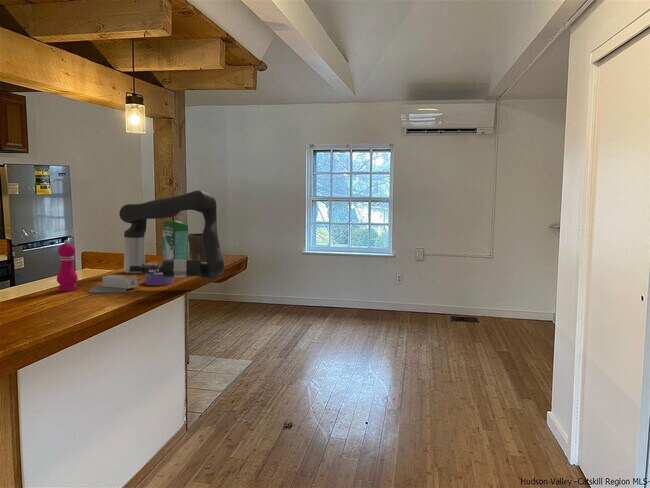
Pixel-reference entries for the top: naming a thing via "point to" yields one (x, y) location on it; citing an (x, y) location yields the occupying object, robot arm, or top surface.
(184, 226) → the milk carton
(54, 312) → the top surface
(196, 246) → the plant pot
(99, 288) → the mat
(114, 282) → the skincare box
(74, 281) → the pepper mill
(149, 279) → the tape roll
